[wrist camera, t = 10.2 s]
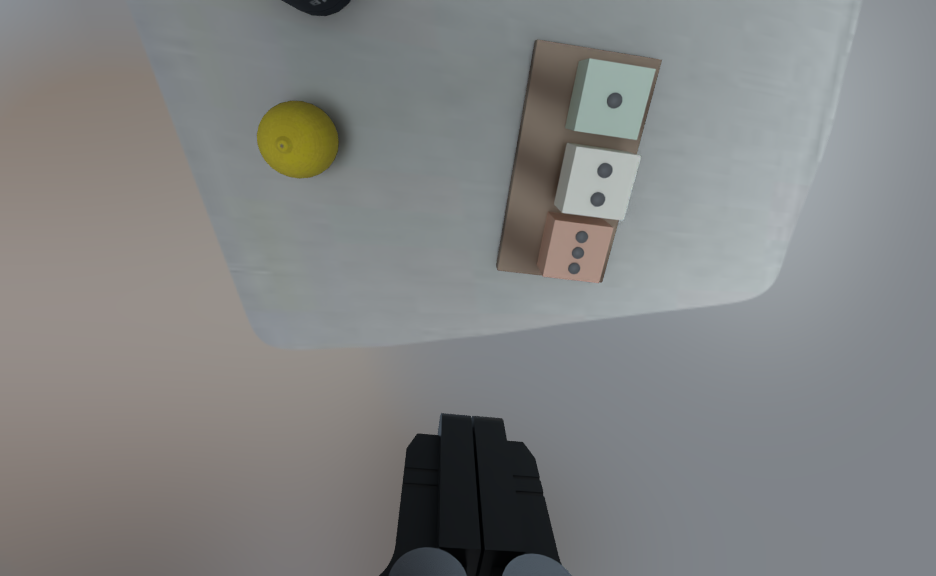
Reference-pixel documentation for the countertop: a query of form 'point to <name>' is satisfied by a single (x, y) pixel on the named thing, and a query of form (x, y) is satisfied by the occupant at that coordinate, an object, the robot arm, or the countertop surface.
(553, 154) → the board
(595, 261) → the key three
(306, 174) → the lemon
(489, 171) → the countertop surface
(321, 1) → the wine bottle
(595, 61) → the key one
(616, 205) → the key two
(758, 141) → the countertop surface
